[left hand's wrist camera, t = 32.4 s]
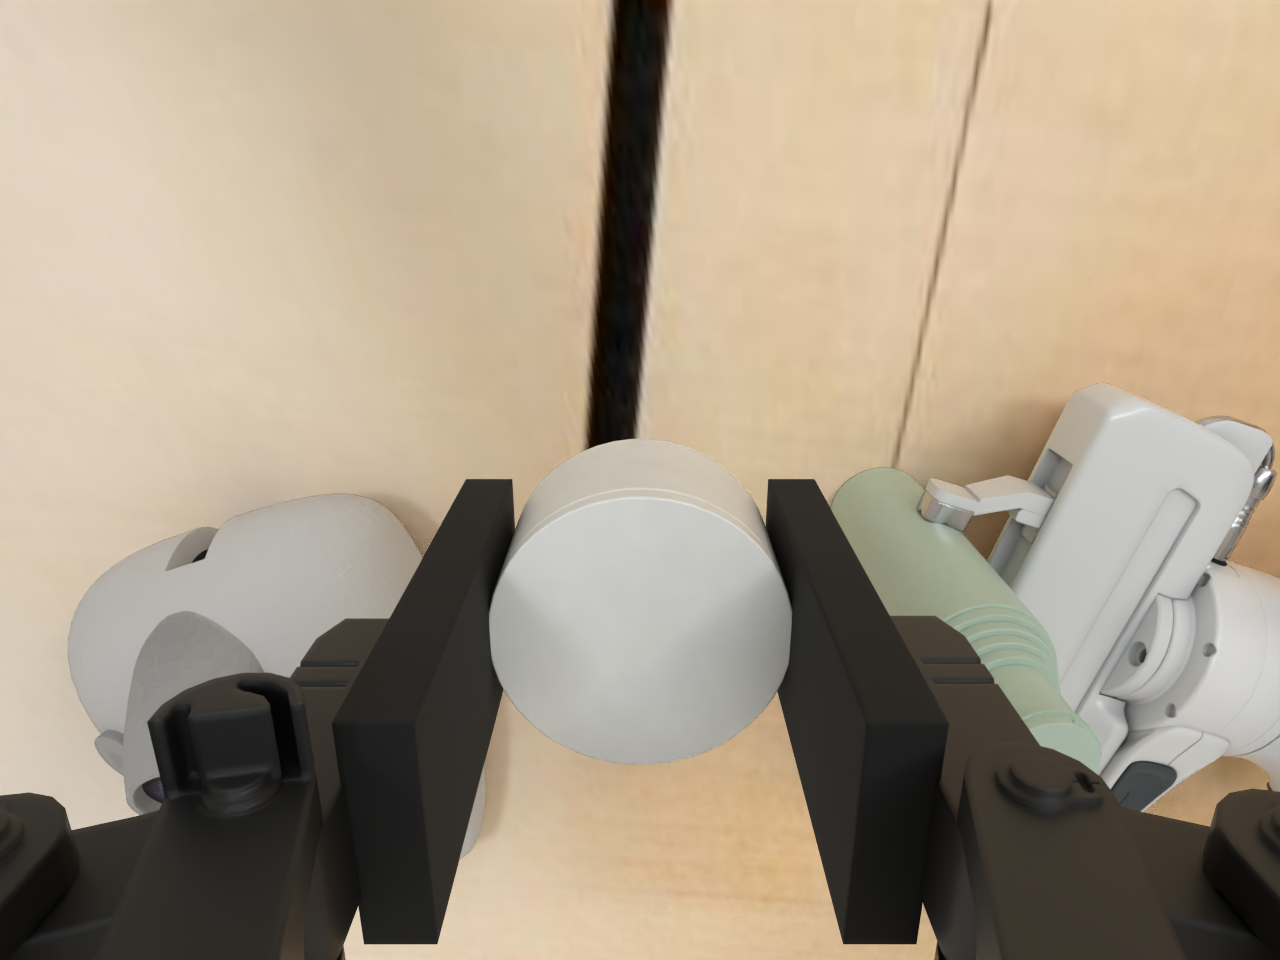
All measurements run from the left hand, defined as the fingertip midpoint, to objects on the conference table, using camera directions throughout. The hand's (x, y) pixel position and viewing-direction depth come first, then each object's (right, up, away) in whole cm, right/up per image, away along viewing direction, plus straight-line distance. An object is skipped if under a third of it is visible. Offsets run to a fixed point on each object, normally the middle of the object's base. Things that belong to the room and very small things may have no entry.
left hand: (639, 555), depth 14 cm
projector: (-16, -10, +33) cm, 38 cm away
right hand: (+11, -2, +24) cm, 26 cm away
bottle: (+12, 0, +30) cm, 32 cm away
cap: (0, -1, -2) cm, 2 cm away
